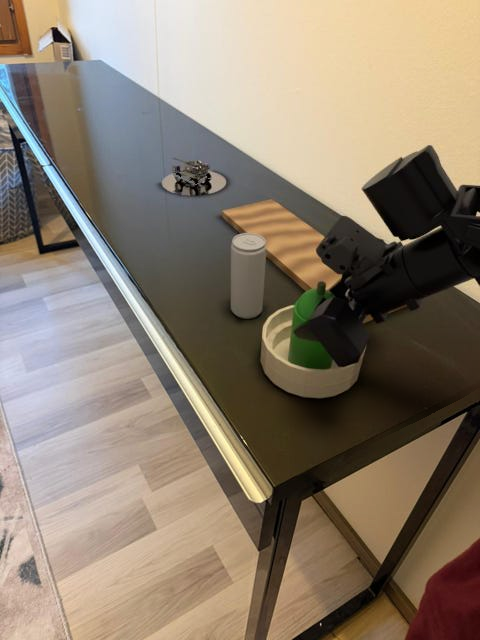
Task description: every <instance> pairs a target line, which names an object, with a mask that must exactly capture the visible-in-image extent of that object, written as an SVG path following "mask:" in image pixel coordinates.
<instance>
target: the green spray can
mask: <svg viewBox="0 0 480 640" xmlns="http://www.w3.org/2000/svg"><path fill="white" fill-rule="evenodd" d="M323 296H324V297H325V299H326V300H328V299H330V298H332V297H336V296H335V295H334V294H333V293H332V292H330V291H328V290H326V283H325V282H322V281H320V282H318V284H317V288H313V289H310V290H308V291H304V292H303V293H302V295H300V297H299V298H298V300H296V302H295V303H294V304H293V305H294V310H293V319H292V327H291V336H290V345H289V353H288V362H290V363H291V364H294V365H298V366H301V367H304V368H308V369H321V370H325V369H330V368H331V366H332V361H333V359H332V358H331V356H330V355H329V354H328V352H327V351H326V350H325V348H324V347H323V346H322V344H321V343H320V342H316V341H311V340H305V339H300V338H297V337H296V335H295V334H294V333H293V331H294V329H296V328H297V327H298V326H300V325H301V324H303V323H304V322H305V321H307V320H308V319H310V317H311V316H312V314H313V313H314V310H315V308H316V306H317V305H318V303H319V302H320V300H321V299H322V298H323Z"/></svg>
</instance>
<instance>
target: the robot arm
mask: <svg viewBox="0 0 480 640" xmlns="http://www.w3.org/2000/svg"><path fill="white" fill-rule="evenodd" d="M441 163H442V162H441V160H440V157H439V155H438V153H437V151H436V150H435V148H434V147H433V145H432V144H431V145H430V144H428V145H426V146H424V147H423V148H421V149H420V150H416V151H414V152H412V153H409V154H408V155H406V156H404V157H403V156H400V157H399V158H396V159H395V160H394V161H392V162H391V163H390V164H388V165H387V166H385V167H384V168H383V169H381V170H380V171H378V172H377V173H376V174H375V175H373V176H372V177H371V178H370V179H369V180H368V181H367V182H366V183H365V184H363V185H362V187H361V191H362V192H363V194H365V196H366V198H367V200H368V201H369V203H370V204H371V205H372V207H373V208H374V210H375V212H376V213H377V214H378V216H379V217H380V219H381V220H382V222H383V223H384V224H385V226H386V227H387V229H388V230H389V232H390V233H391V235H392V236H393V237H394V238H398V240H399V241H398V242H397V241H392V242H390V243H388V244H387V243H386V242H385V240H384V239H382V238H379V237H376V236H375V235H374V234H373V233H372V232H370V231H369V230H368V229H366V228H364V227H363V226H361V224H359V223H358V222H356V221H355V220H353V219H352V218H351V217H350V216H347V215H341V216H340V217H339V218H338V219H337V221H336V222H335V223H334V225H332V227H330V229H329V231H328V232H327V233H326V234H325V235H324V239H323V240H322V241H321V243H320V244H319V245H318V247H317V248H316V253H317V255H318V256H319V257H320V258H321V260H322V262H323V263H324V264H325V265H326V266H328V267H329V268H330V269H332V270H333V271H334V272H336V273H337V274H342V278H341V279H339V280H338V281H337V282H336V283H335V284H334V285H333V286H332V287H330V288H329V289H328V291H330V292H332V293H333V294H334V295H335V296H336V297H332V298H330V299H328V300H326V299H325V297H324V296H323V298H322V299H321V300H320V302H319V303H318V305H317V306H316V308H315V310H314V313H313V314H312V316H311V317H310V319H308V320H307V321H305V322H304V323H303V324H301V325H300V326H298V327H297V328H296V329H294V331H293V333H294V334H295V335H296V337H297V338H300V339H305V340H311V341H316V342H320V343H321V344H322V346H323V347H324V348H325V350H326V351H327V352H328V354H329V355H330V356H331V358H332V359H333V360H334V362H335V363H336V364H337V365H338V367H346V366H349V365H352V364H355V363H358V361H359V359H360V357H361V355H362V353H363V351H364V349H365V347H366V348H367V346H368V342H369V339H370V334H371V333H370V332H369V330H368V329H367V327H366V326H365V325H364V324H365V323H364V321H365V319H366V317H367V315H371V316H372V318H373V321H374V322H375V324H376V325H378V324H380V323H382V322H385V321H386V320H387V317H388V315H389V314H390V313H389V312H390V311H392V310H395V309H397V308H400V307H403V306H405V305H407V306H406V307H407V308H408V309H409V310H410V311H411V312H413V311H414V310H417V309H420V308H421V306H422V303H423V302H424V301H423V300H424V299H426V298H428V297H431V296H434V295H436V294H438V293H441V292H443V291H446V290H448V289H451V288H453V287H456V286H458V285H461V284H463V283H466V282H469V281H471V280H473V279H474V280H475V281H476V283H477V284H478V286H479V287H480V215H477V214H478V213H479V214H480V185H476V184H461V185H459V186H458V189H457V188H456V186H455V184H454V183H453V182H452V180H451V178H450V177H449V175H448V173H447V172H446V170H445V169H444V167H443V165H442V164H441ZM407 240H409V241H410V240H411V241H410V242H408V243H406V244H403V242H404V241H407ZM388 313H389V314H388ZM366 345H367V346H366Z"/></svg>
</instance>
